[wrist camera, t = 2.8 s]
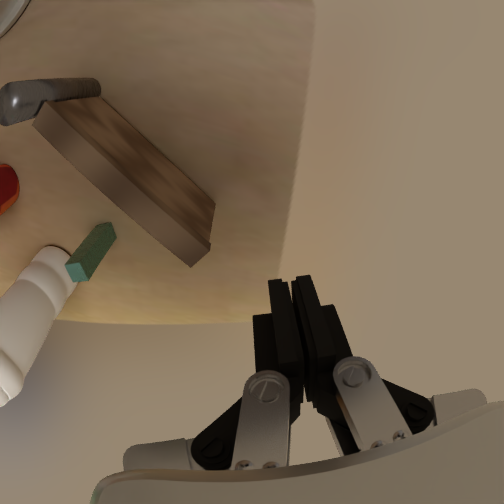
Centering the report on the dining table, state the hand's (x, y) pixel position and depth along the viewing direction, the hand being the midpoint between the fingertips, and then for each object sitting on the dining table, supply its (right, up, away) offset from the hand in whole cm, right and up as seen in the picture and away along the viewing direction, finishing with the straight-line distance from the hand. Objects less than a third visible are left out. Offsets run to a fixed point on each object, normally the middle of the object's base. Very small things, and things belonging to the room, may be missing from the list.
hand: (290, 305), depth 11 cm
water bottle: (-27, 0, +20) cm, 34 cm away
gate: (-11, +11, +12) cm, 20 cm away
